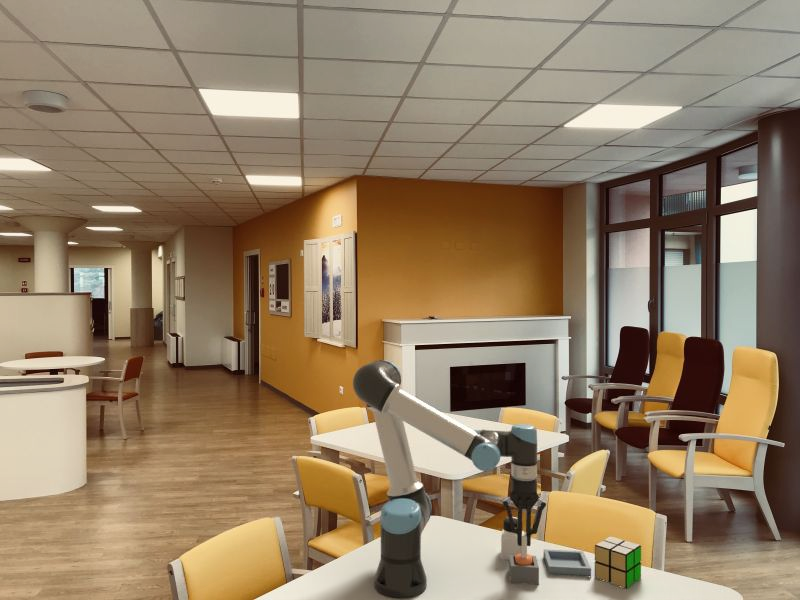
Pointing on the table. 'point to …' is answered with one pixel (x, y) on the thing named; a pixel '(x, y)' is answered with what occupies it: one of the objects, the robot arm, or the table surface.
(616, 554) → the puzzle cube
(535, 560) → the button housing
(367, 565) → the table surface
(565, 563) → the tray
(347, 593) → the table surface
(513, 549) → the medicine bottle
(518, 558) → the button
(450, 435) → the robot arm
